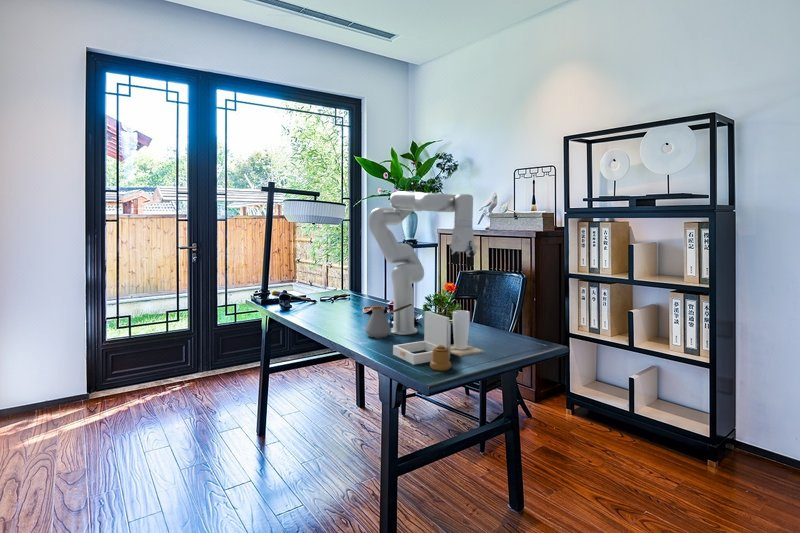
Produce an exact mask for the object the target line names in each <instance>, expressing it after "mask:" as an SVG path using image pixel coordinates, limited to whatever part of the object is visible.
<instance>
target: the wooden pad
mask: <svg viewBox="0 0 800 533" xmlns="http://www.w3.org/2000/svg"><path fill="white" fill-rule="evenodd" d="M482 353H485V350H483V349H480V348H478V347H474V346H471V345H469V344H467V349H465V350H457V349H455V348H454V343H453V344H450V354H452V355H455V356H457V357H459V358H460V357H466V356H472V355H478V354H482Z"/></svg>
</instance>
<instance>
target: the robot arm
mask: <svg viewBox="0 0 800 533" xmlns="http://www.w3.org/2000/svg"><path fill="white" fill-rule="evenodd" d="M389 204H390V205H391V207H385V206H381V207H376V208H374V209H372V210H371V212H370V213H369V216H368V227H369V230H370V232H371V234H372V236H373V237H374V239H375V241H376V242H377V245H378V247H379V248H380V251H381V252H382V254H383V257H384V259H385V260H386V262H387V263H388V264H390V265H396V266H394V268H393V269H392V271H391V282H392V283H391V284H392V289H393V290H392V291H393V293H392V294H393V311H394V310H395V309H398V308H400V307H403V306H406V305H409V304H412V306H413V308H412V306H408V307H406V308H404V309H402V310H399V311H396V312H393V321H391V324H392V327H390V328H391V332H390V333H392V334H394V335H403V336H405V335H407V336H408V335H413V334H416V333H418V329H417V328H416V327H415V291H414V288H413V285H412V284H416V283H419V282H421V281H423V280H424V276H425V269H424V267H423V264H422V262H421V260H420V259H419V257H418V255H417V252H415V250H414V247H412V246H411V245H410V244H408V243H403V242H402V243H401V242H400V243H399V242H398V239H396V237H395V235H394V233H393V231H391V230H390V229H389V227H388V226H397V225H399V224H401V223H402V222H403V221H404V220H406V218H407V217H408V216H409V215H410V214H411V213H412V212H423V211H424V212H438V213H454V217H453V218H454V220H453V221H454V223H453V224H454V226H453V228H452V232H451V243H450V244H449V248H450V250H449V251H450V252H451V255H452V256H451V264H452V265H459V264H460V255H459V253H465V254H466V257H465V259H466V260H465V262H466V263H465V266H466V267H467V268H469V267H473V266H474V257H475V254H477V250H478V246H477V245H476V244H475V241H474V238H475V237H474V228H473V217H474V216H473V215H474V196H473V195H472V194H467V193H465V194H464V193H460V194H452V193H451V194H450V193H433V192H431V193H430V192H423V191H411V190H410V191H408V190H407V191H406V190H397V191H395V192H393V193H392V194H391V195H390V198H389Z"/></svg>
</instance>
